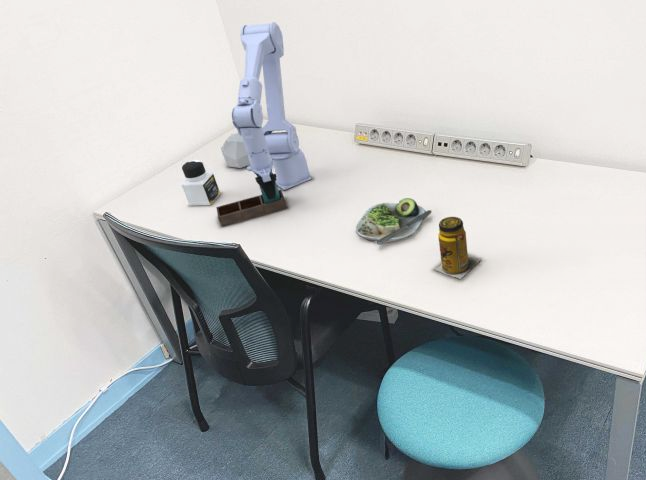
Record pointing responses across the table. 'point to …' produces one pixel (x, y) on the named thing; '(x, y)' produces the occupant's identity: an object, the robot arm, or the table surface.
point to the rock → (235, 151)
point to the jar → (266, 196)
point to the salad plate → (391, 221)
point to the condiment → (454, 248)
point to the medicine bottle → (199, 184)
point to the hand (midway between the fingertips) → (270, 194)
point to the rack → (248, 209)
